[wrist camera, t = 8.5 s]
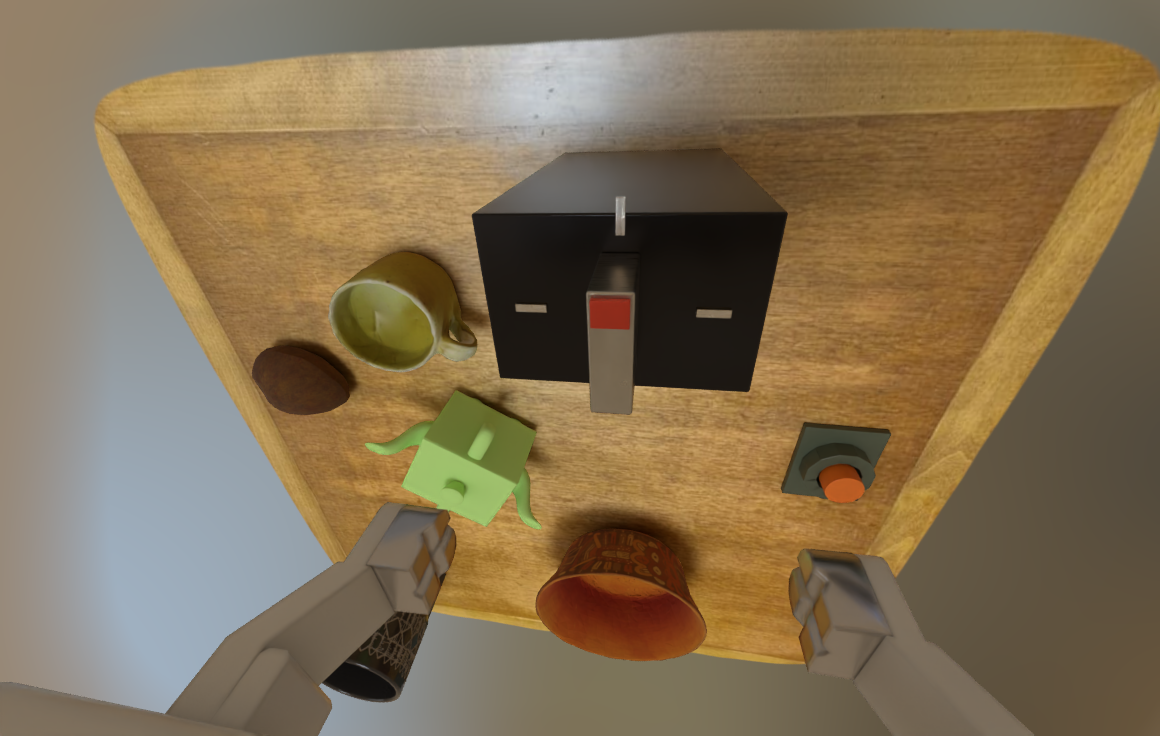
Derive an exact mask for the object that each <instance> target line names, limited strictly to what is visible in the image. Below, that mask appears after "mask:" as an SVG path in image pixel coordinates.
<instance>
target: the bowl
mask: <svg viewBox="0 0 1160 736" xmlns="http://www.w3.org/2000/svg"><path fill="white" fill-rule="evenodd" d="M536 612H537V615H538V616H539V617H540V619H541V621H542V622H543V624H544V625H545V626H546V627H547V628H548V629H549V630H550V631H551V632H552V633H554V634H555V635H556V636H557V637H559V638H560V639H561V640H563V641H565V642H566V643H568V644H571V645H574V646H576V647H578V648H580V649H583V650H585V651H588V652H591V653H595V654H598V655H603V656H605V657H609V658H615V659H623V660H631V661H651V660H666V659H670V658H676V657H679V656H683V655H686V654H688V653H690V652H692V651H694V650H696V649H697V648H698V647H699V646H700V645H701V644H702V643H703V641H704V640H705V637H706V633H707V629H706V625H705V622H704V619H703V617H702V615H701V613H700V612H699V610H698V608H697V606H696V604H695V603H694V601H693V599H692V597H691V595H690V592H689V589H688V586H687V583H686V579H685V575H684V571H683V568H682V565H681V563H680V561H679V559H678V558H677V557H676V555H675V554H674V553H673V552H672V550H671V549H669V548H668V547H667V546H666V545H664V544H663V543H662V542H660V541H658V540H656V539H654V538H653V537H651V536H649V535H646V534H643V533H640V532H636V531H632V530H626V529H599V530H596V531H592V532H589V533H586V534H584V535H582V536H580V537H579V538H577V539H576V540H575V541H574V542H573V543H572V544H571V545H570V547H569V549H568V550H567V552H566V554H565V556H564V558H563V561H562V563H561V565H560V567H559V569H558V570H557V572H556V573H555V574H554V575H553V576H552V577H551V578H550V579H549V580H548V581H547V582H546V583H545V584H544V585H543V586H542V588H541V589H540V591H539V593H538V595H537V597H536Z"/></svg>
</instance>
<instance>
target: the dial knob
mask: <svg viewBox="0 0 1160 736" xmlns="http://www.w3.org/2000/svg"><path fill="white" fill-rule="evenodd" d="M639 275H640V254H633V253H602V254H600V256H599V259H598V262H597V265H596V267H595V270H594V273H593V276H592V278H591V281H590V284H589V287H588V289H587V292H586V308H587V333H588V358H589V384H590V409H591V412H596V413H612V414H627V415H630V414H631V413H632V408H633V396H634V385H635V373H636V362H637V336H638V305H639Z"/></svg>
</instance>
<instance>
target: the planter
mask: <svg viewBox="0 0 1160 736" xmlns="http://www.w3.org/2000/svg"><path fill="white" fill-rule="evenodd" d="M445 575H446V574H445V573H443V574H442V575H441V576H440V577H439V580H440V585H441V586H442V583H443V581H444V578H445ZM439 591H440V590H439ZM437 596H438V595H437ZM436 598H437V597H436ZM435 601H436V599H435ZM434 603H435V602H434ZM433 606H434V604H433ZM433 606H432V608H431V611H432V609H433ZM431 611H430V613H429V615H426V614H417V613H409V612H400V611H394V612H395V613H394V614H393V615H392V616H391V617H390V618H389V619H388V620H387V621H386V622H385V623H384V624H383V625H382V626H381V627H380V628H379V629H378V630H377V631H376V632H374V633H373V634H372V635H371V636H370V637H369V638H368V639H367V640H366V641H365V642H364V643H363V644H362V645H361V646H360V647H359V648H358V649H357V650H356V651H355V652H354V653H352V654H351V655H350V656H349V657H348V658H347V659H346V660H345V661H344V662H343V663H342V664H341V665H340V666H339V667H338V668H337V669H336V670H335V671H334V672H333V673H332V674H330V675H329V676H328V677H327V678H326V679H325V680H324V681H323V682H322V683H323V684H324V685H326V686H328V687H330V688H332V689H333V690H336V691H338V692H340V693H343V694H345V695H348V696H351V697H354V698H357V699H361V700H366V701H371V702H391V701H394V700H396V699H398V698H399V697H400V695H401V692H402V690H403V687H404V685H405V682H406V679H407V677H408V674H409V672H410V669H411V666H412V664H413V661H414V659H415V656H416V654H417V651H418V648H419V646H420V643H421V641H422V638H423V635H424V632H425V630H426V628H427V625H428V619H429V616H430V614H431Z"/></svg>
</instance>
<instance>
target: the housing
mask: <svg viewBox="0 0 1160 736" xmlns="http://www.w3.org/2000/svg"><path fill="white" fill-rule="evenodd" d="M890 436H891V433H890V431H889V430H885V429H873V428H861V427H849V426H836V425H824V424H812V423H804V425H803V428H802V431H801V434H800V437H799V439H798V442H797V445H796V448H795V451H794V454H793V456H792V459H791V462H790V465H789V468H788V471H787V473H786V476H785V479H784V482H783V485H782V488H781V490H782V493H788V494H797V495H807V496H816V497H819V498H823V499H828V498H827V497H826V495H825V493H824V491H823V488H822V486H821V483H820V481H819V474H820V472H821V471H822V470H823V469H825V468H826V467H828V466H832V465H836V464H847V465H850V466H852V467H854V468H855V469H856V471H857V473H858V475H859V477H860V479H861V481H862V483H863V485H864V487H865V490H867V489H868V488H869V487H870V486H871V484H872V482H873V480H874V478H875V472H874V467H875V465H876V463H877V461H878V459H879V457H880V455H881V453H882V451H883V450H884V448H885V446H886V444H887V442H888V440H889V438H890ZM858 499H859V498H858ZM858 499H857V500H858ZM857 500H854V501H857Z"/></svg>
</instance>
